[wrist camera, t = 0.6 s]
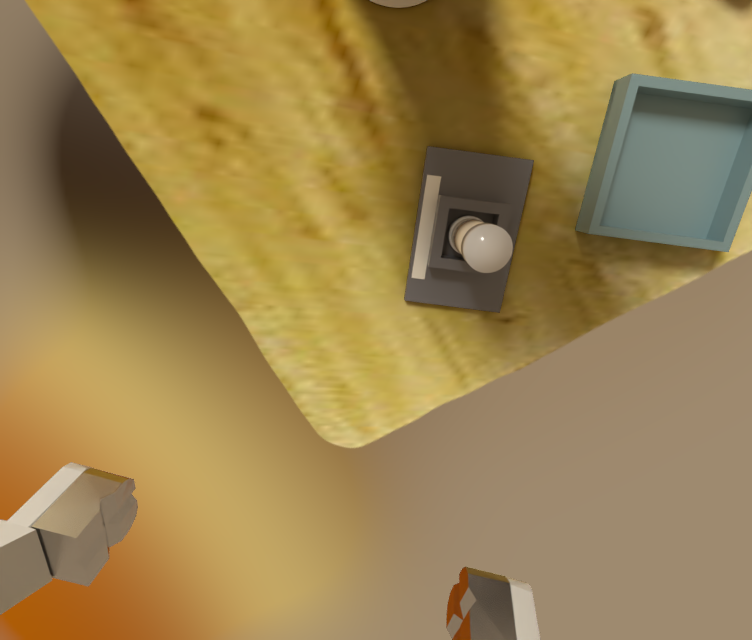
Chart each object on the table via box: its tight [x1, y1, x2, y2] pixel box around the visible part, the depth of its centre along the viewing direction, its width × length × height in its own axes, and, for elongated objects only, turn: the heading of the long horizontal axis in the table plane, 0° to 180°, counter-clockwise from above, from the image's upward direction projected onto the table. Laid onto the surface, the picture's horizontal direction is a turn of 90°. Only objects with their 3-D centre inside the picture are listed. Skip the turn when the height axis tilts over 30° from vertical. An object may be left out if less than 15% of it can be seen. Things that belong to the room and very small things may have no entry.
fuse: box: [447, 215, 513, 273], centre depth 45 cm, size 4×4×12 cm
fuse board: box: [404, 146, 534, 313], centre depth 50 cm, size 18×12×4 cm, turn 173°
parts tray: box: [575, 74, 752, 252], centre depth 47 cm, size 16×16×4 cm
